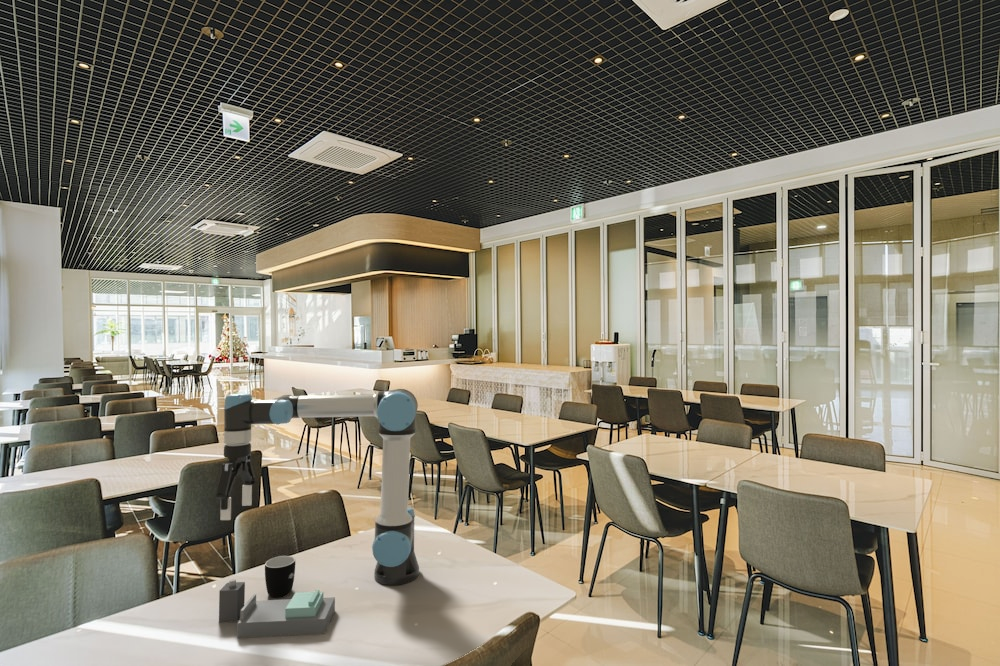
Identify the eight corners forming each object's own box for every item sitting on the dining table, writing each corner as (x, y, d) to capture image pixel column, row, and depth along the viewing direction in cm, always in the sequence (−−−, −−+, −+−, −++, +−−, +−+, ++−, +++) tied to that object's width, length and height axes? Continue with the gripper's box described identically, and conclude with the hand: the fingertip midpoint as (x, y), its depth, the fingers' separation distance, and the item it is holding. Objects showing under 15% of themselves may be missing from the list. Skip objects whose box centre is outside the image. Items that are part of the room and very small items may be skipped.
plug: (244, 612, 149) (245, 576, 149) (237, 621, 144) (237, 584, 144) (226, 613, 148) (227, 577, 148) (218, 622, 143) (219, 585, 143)
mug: (290, 599, 156) (291, 566, 157) (260, 601, 155) (261, 568, 155) (300, 581, 168) (300, 551, 169) (271, 583, 167) (272, 552, 167)
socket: (334, 610, 150) (335, 588, 150) (324, 633, 138) (325, 609, 138) (254, 614, 147) (254, 591, 148) (237, 638, 136) (237, 613, 136)
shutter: (323, 600, 148) (323, 588, 148) (315, 616, 139) (315, 603, 139) (295, 601, 147) (295, 589, 147) (285, 617, 138) (285, 604, 138)
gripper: (244, 436, 168) (243, 500, 168) (203, 452, 144) (202, 526, 143) (266, 436, 169) (266, 499, 168) (230, 451, 144) (229, 526, 143)
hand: (236, 512), depth 156 cm, fingers open, 13 cm apart
